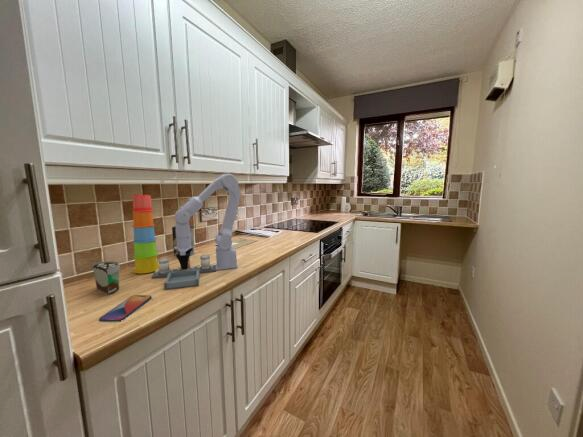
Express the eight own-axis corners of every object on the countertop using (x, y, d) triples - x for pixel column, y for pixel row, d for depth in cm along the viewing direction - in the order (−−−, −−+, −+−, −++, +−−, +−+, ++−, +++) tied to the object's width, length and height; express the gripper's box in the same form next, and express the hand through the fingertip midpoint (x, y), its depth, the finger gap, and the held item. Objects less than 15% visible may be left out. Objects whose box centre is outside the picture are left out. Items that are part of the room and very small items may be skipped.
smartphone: (97, 322, 71) (96, 319, 71) (133, 297, 86) (132, 294, 86) (121, 323, 71) (120, 320, 71) (153, 298, 86) (153, 295, 86)
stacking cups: (128, 272, 109) (120, 195, 104) (150, 265, 118) (144, 194, 113) (143, 276, 105) (135, 195, 100) (164, 268, 114) (158, 194, 109)
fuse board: (215, 266, 117) (215, 262, 117) (216, 271, 110) (215, 267, 110) (155, 272, 109) (154, 268, 108) (151, 278, 102) (151, 274, 102)
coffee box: (173, 256, 133) (171, 227, 131) (181, 252, 139) (179, 225, 137) (187, 257, 130) (185, 228, 128) (195, 254, 137) (193, 225, 134)
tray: (199, 274, 107) (199, 269, 106) (198, 285, 95) (198, 279, 95) (169, 277, 103) (168, 272, 103) (164, 289, 92) (164, 283, 91)
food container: (129, 289, 92) (126, 264, 90) (110, 296, 87) (107, 269, 85) (113, 282, 98) (110, 258, 96) (95, 288, 93) (91, 263, 91)
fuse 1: (170, 270, 109) (169, 257, 108) (169, 273, 105) (167, 260, 105) (160, 271, 108) (159, 258, 107) (158, 274, 104) (157, 261, 103)
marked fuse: (190, 268, 112) (190, 255, 111) (190, 271, 108) (189, 258, 107) (181, 269, 111) (180, 256, 110) (180, 272, 107) (179, 259, 106)
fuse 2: (210, 266, 115) (209, 254, 114) (210, 269, 111) (209, 256, 110) (201, 267, 113) (200, 255, 112) (200, 270, 110) (200, 257, 109)
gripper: (175, 234, 113) (177, 262, 115) (171, 241, 99) (173, 273, 101) (191, 233, 115) (193, 260, 117) (189, 240, 101) (191, 271, 103)
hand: (185, 266), depth 109 cm, fingers open, 7 cm apart
